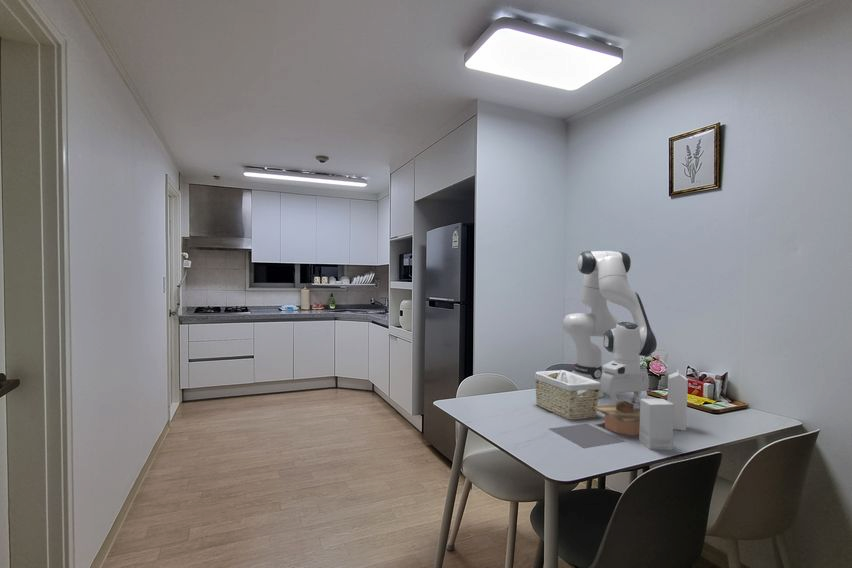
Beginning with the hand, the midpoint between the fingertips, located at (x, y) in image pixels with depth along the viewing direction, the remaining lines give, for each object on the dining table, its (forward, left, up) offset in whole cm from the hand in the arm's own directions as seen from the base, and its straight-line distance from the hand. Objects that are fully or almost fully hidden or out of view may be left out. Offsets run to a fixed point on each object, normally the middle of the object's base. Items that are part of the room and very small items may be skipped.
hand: (624, 403), depth 154 cm
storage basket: (-24, -7, -10) cm, 27 cm away
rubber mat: (+1, -19, -10) cm, 21 cm away
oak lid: (0, 0, -4) cm, 4 cm away
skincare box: (+16, -3, -10) cm, 19 cm away
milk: (+4, +22, -10) cm, 24 cm away
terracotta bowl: (0, 0, -10) cm, 10 cm away
